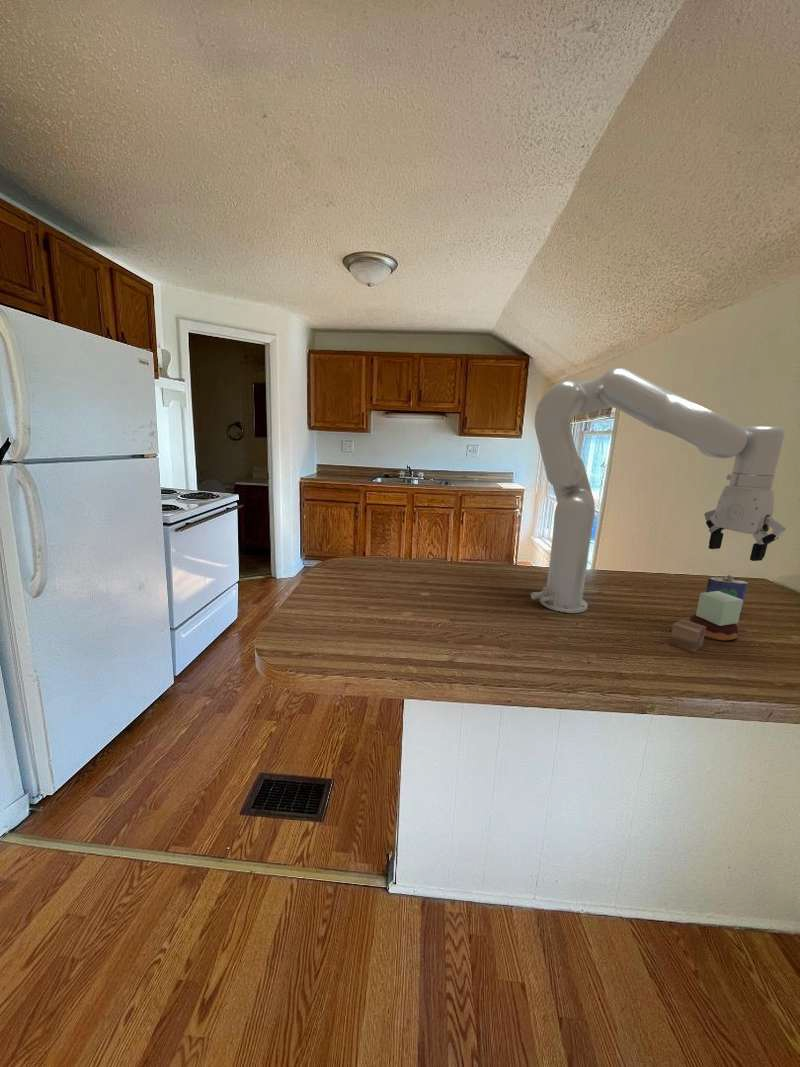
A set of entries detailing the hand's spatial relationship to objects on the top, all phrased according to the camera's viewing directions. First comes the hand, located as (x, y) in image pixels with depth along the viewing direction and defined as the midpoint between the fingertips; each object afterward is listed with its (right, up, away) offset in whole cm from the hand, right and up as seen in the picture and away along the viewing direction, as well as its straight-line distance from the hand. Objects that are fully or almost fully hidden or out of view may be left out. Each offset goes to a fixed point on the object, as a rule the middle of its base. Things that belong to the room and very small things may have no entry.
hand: (734, 554), depth 101 cm
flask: (+11, -17, +18) cm, 27 cm away
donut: (-2, -20, +5) cm, 21 cm away
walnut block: (-13, -21, -2) cm, 25 cm away
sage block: (-2, -16, +4) cm, 17 cm away
